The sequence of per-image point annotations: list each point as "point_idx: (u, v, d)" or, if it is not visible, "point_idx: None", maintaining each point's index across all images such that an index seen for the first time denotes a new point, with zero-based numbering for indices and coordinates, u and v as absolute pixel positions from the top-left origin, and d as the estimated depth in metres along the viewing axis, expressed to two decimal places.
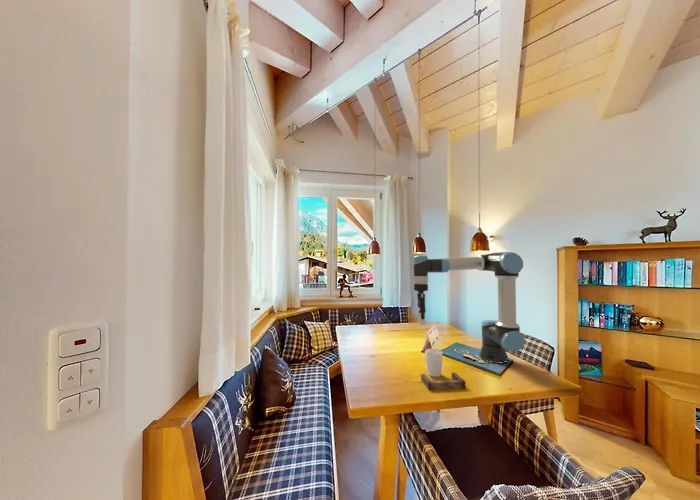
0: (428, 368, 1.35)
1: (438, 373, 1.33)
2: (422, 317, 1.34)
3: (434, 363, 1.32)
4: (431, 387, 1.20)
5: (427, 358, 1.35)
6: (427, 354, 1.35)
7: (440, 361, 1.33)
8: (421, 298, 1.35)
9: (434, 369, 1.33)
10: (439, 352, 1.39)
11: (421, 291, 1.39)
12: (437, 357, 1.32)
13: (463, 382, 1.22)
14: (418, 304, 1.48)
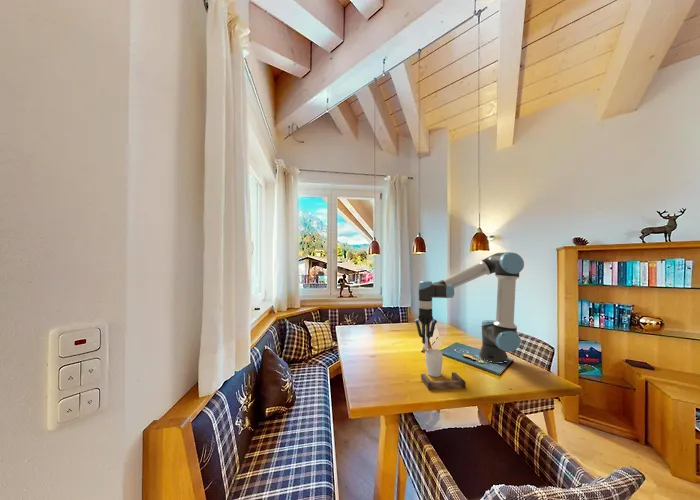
0: (428, 368, 1.35)
1: (438, 373, 1.33)
2: (422, 341, 1.47)
3: (434, 363, 1.32)
4: (431, 387, 1.20)
5: (427, 358, 1.35)
6: (427, 354, 1.35)
7: (440, 361, 1.33)
8: (416, 324, 1.48)
9: (434, 369, 1.33)
10: (439, 352, 1.39)
11: None
12: (437, 357, 1.32)
13: (463, 382, 1.22)
14: (426, 331, 1.49)
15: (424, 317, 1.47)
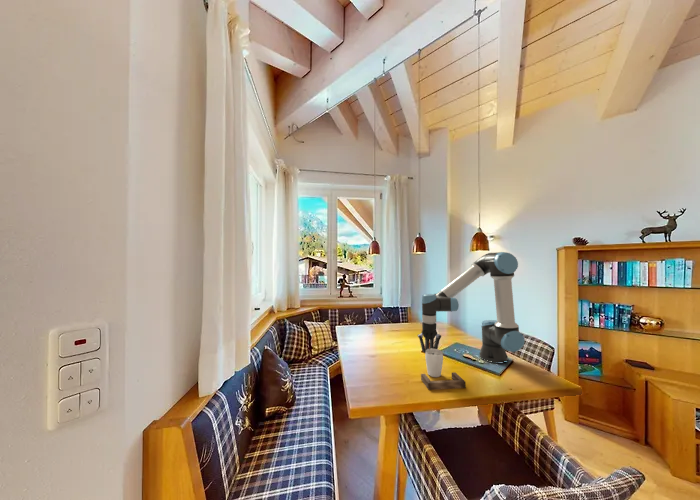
0: (428, 368, 1.34)
1: (438, 373, 1.33)
2: None
3: (434, 364, 1.32)
4: (431, 387, 1.20)
5: (428, 359, 1.33)
6: (428, 355, 1.34)
7: (441, 362, 1.32)
8: (420, 339, 1.42)
9: (434, 369, 1.32)
10: (439, 352, 1.38)
11: None
12: (437, 358, 1.31)
13: (463, 382, 1.22)
14: None
15: (428, 332, 1.41)
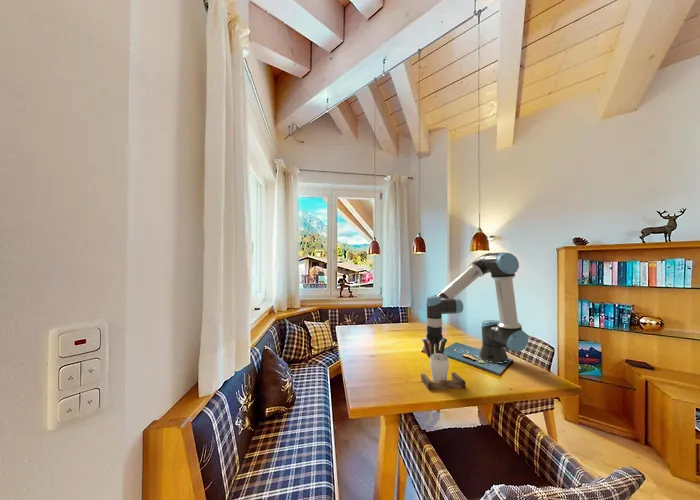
0: (433, 374, 1.27)
1: (443, 380, 1.26)
2: None
3: (439, 370, 1.25)
4: (431, 387, 1.20)
5: (432, 364, 1.27)
6: (432, 360, 1.27)
7: (446, 368, 1.25)
8: (424, 343, 1.35)
9: (439, 376, 1.25)
10: (445, 357, 1.30)
11: None
12: (442, 364, 1.24)
13: (463, 382, 1.22)
14: (435, 351, 1.36)
15: (433, 336, 1.34)
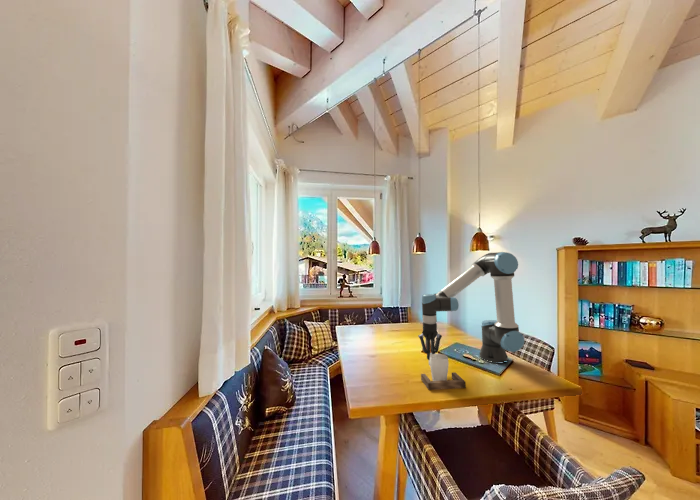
0: (433, 374, 1.28)
1: (443, 380, 1.26)
2: (427, 357, 1.42)
3: (439, 370, 1.25)
4: (431, 387, 1.20)
5: (432, 364, 1.27)
6: (431, 359, 1.28)
7: (445, 367, 1.25)
8: (420, 339, 1.42)
9: (439, 375, 1.25)
10: (445, 357, 1.31)
11: None
12: (442, 363, 1.25)
13: (463, 382, 1.22)
14: None
15: (428, 332, 1.41)
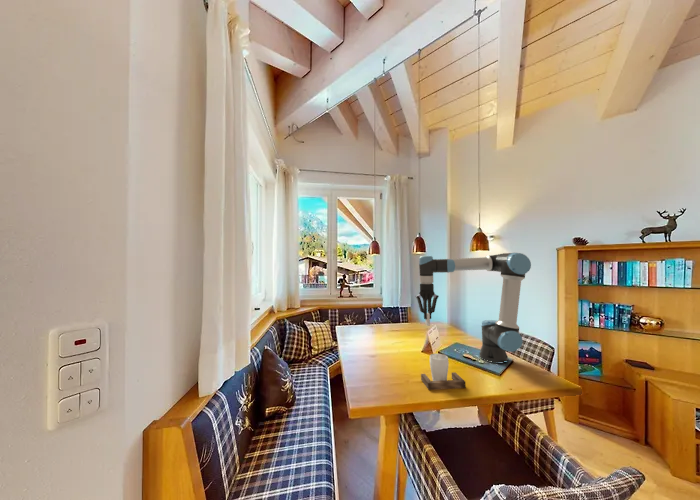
0: (433, 374, 1.28)
1: (443, 380, 1.26)
2: (424, 317, 1.45)
3: (439, 370, 1.25)
4: (431, 387, 1.20)
5: (432, 364, 1.27)
6: (432, 359, 1.28)
7: (445, 367, 1.25)
8: None
9: (439, 375, 1.25)
10: (445, 357, 1.31)
11: None
12: (442, 363, 1.25)
13: (463, 382, 1.22)
14: None
15: (425, 292, 1.45)
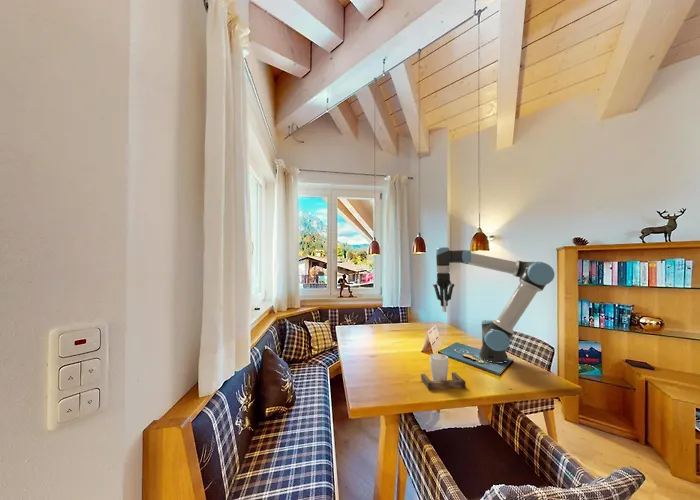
0: (433, 374, 1.28)
1: (443, 380, 1.26)
2: (441, 304, 1.56)
3: (439, 369, 1.25)
4: (431, 387, 1.20)
5: (432, 363, 1.28)
6: (432, 359, 1.28)
7: (445, 367, 1.25)
8: (435, 288, 1.56)
9: (439, 375, 1.25)
10: (445, 357, 1.31)
11: None
12: (442, 363, 1.25)
13: (463, 382, 1.22)
14: None
15: (442, 281, 1.55)
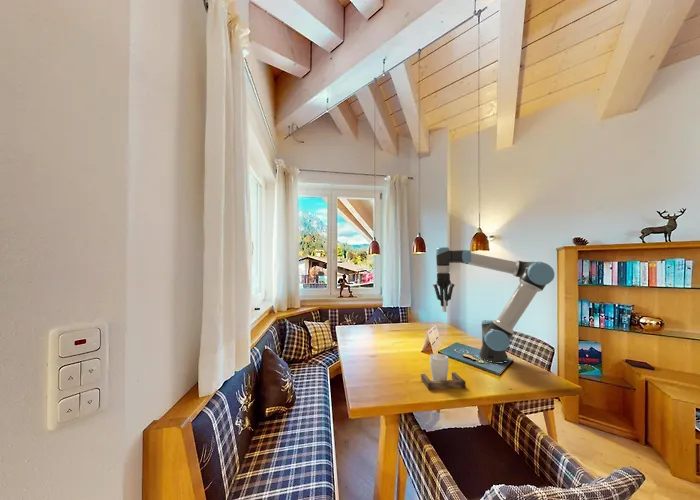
0: (433, 374, 1.28)
1: (443, 380, 1.26)
2: (441, 304, 1.56)
3: (439, 370, 1.25)
4: (431, 387, 1.20)
5: (432, 364, 1.27)
6: (432, 359, 1.28)
7: (446, 367, 1.25)
8: (435, 288, 1.56)
9: (439, 375, 1.25)
10: (445, 357, 1.31)
11: None
12: (442, 363, 1.25)
13: (463, 382, 1.22)
14: None
15: (442, 281, 1.55)
